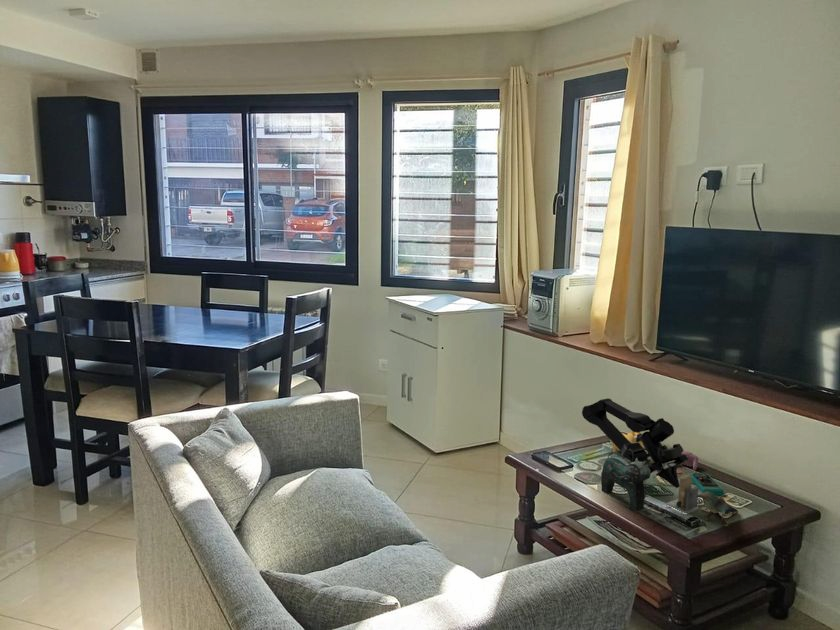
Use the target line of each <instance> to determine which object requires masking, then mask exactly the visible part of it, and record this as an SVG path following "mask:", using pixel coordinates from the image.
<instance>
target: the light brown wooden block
mask: <svg viewBox="0 0 840 630" xmlns="http://www.w3.org/2000/svg"><path fill="white" fill-rule="evenodd" d="M692 483H693V482H692V476H690V474H685V475H682V476H680V477H679V487H678V497H677V499H678V502H676V506H680V505H681V506H685V505H686V495H687V490H689V489H691V488H692Z"/></svg>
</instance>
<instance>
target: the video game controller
mask: <svg viewBox="0 0 840 630" xmlns="http://www.w3.org/2000/svg"><path fill="white" fill-rule="evenodd" d="M682 454H685V455H686V457H687V458H688V460H687V461H685V462H683V463H682V464H680V465H679V466H682V465H684V463H685V464H686V466H687V467H688V466H689V468H690V467H691V468H692V469H693V471H694V470H695V471H696V470H697V468H698V464H699V457H698V456H697V455H696V454H694V453H692V452H689V451H686V450H683V452H682Z"/></svg>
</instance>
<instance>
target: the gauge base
mask: <svg viewBox="0 0 840 630" xmlns="http://www.w3.org/2000/svg"><path fill="white" fill-rule="evenodd" d="M697 495H699V488H698V487H697V486H693V487H691V489H689V490H687V495H686V505H685V506H681V505H680V506H676V502H678V498H677V499H674V500H670V501H668V502H666V505H669V506H671V507H673V508H675V509H677V510H679V511H681V512H684V513H688V514H690V513H693V512H696V511H698V509H699V506H698V501H699V497H695V496H697Z"/></svg>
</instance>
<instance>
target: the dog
mask: <svg viewBox="0 0 840 630" xmlns="http://www.w3.org/2000/svg"><path fill="white" fill-rule="evenodd" d="M621 433H622V434H623V435H624V436H625V437H626V438H627V439H628V440H629V441H630V442H631V443H637V442H636V438H637V435H638V434H642V433H641V432H637V433H635V432H633V431H632V430H631V429H630V431H629V432H628V433H627V434H625V433H623V432H621ZM609 440H610V439H609ZM638 443H639V444H640V445H641V446H642V447H643V448H644V449H645V447H644V445H643V444H642V442H641V441H639V442H638ZM610 444H611V447H612V452H617V453H618V450H619V449H618V448H617V446H616V445H615V444H614V443H613V442H612V441H611V440H610ZM645 450H646V449H645Z"/></svg>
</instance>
